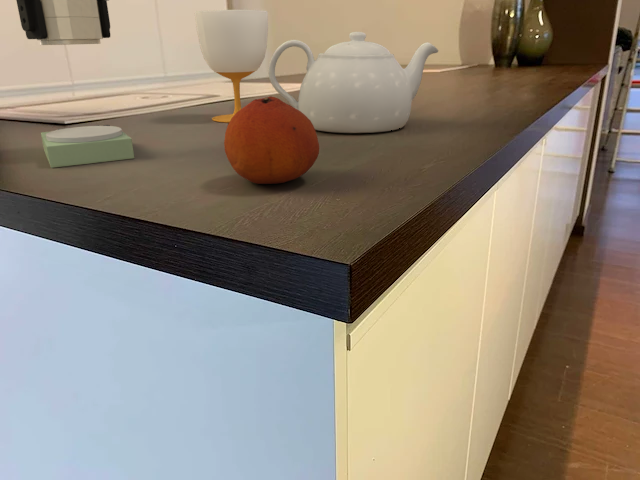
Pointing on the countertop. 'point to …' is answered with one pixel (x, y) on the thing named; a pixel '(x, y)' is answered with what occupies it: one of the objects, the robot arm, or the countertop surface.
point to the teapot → (355, 86)
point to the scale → (86, 145)
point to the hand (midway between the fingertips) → (70, 37)
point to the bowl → (71, 22)
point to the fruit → (270, 142)
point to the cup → (233, 45)
